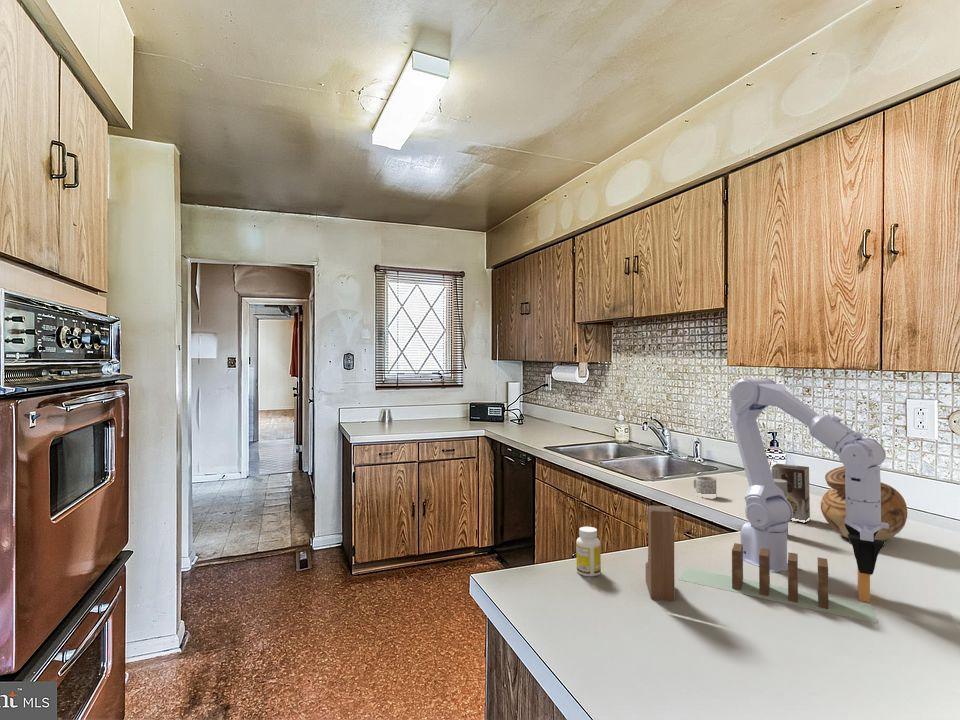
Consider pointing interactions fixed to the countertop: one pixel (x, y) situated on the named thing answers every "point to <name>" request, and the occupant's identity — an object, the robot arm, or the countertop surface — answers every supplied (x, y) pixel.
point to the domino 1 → (737, 566)
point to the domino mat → (781, 595)
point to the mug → (705, 485)
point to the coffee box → (795, 488)
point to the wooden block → (660, 553)
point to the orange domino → (864, 586)
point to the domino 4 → (823, 583)
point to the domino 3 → (793, 577)
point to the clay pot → (836, 506)
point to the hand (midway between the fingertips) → (863, 566)
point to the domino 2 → (764, 571)
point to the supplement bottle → (588, 552)
